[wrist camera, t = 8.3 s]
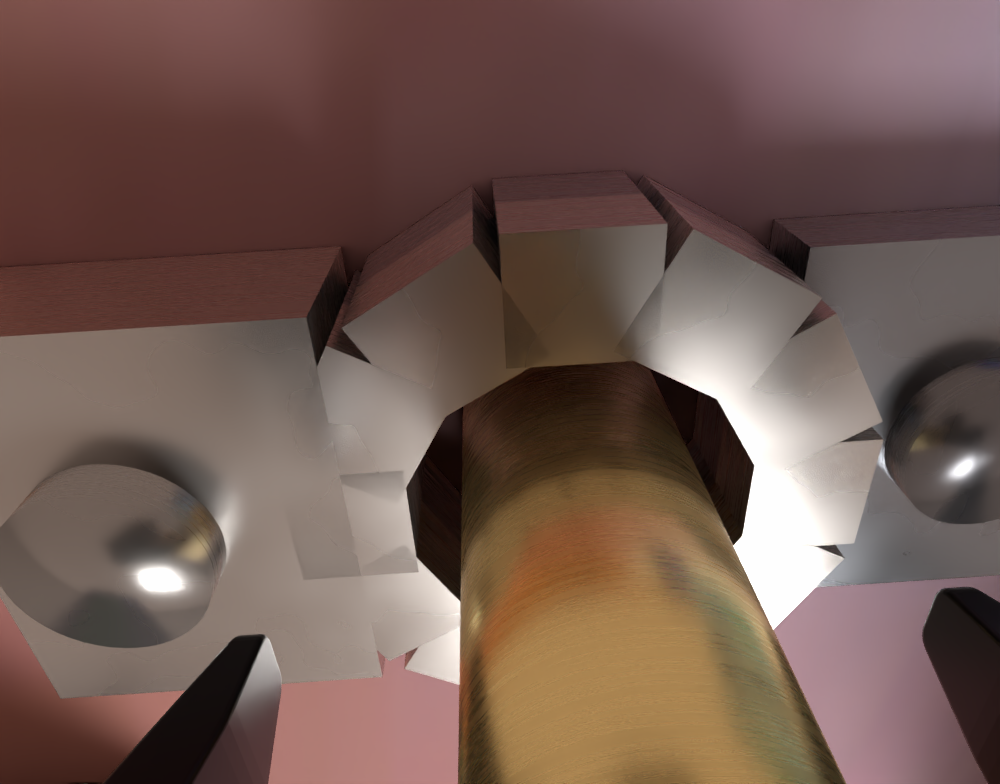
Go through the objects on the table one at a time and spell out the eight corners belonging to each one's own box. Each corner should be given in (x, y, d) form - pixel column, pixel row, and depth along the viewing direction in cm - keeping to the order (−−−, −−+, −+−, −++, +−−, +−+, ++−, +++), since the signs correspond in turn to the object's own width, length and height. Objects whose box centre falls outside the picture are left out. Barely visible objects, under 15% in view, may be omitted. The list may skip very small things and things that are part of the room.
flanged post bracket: (1147, 137, 12) (1414, 197, 8) (976, 557, 16) (1101, 698, 13) (-42, 211, 11) (-246, 301, 8) (141, 612, 16) (58, 769, 13)
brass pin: (695, 294, 13) (1163, 931, 4) (673, 503, 15) (938, 1169, 7) (425, 310, 13) (337, 993, 4) (449, 518, 15) (424, 1206, 7)
